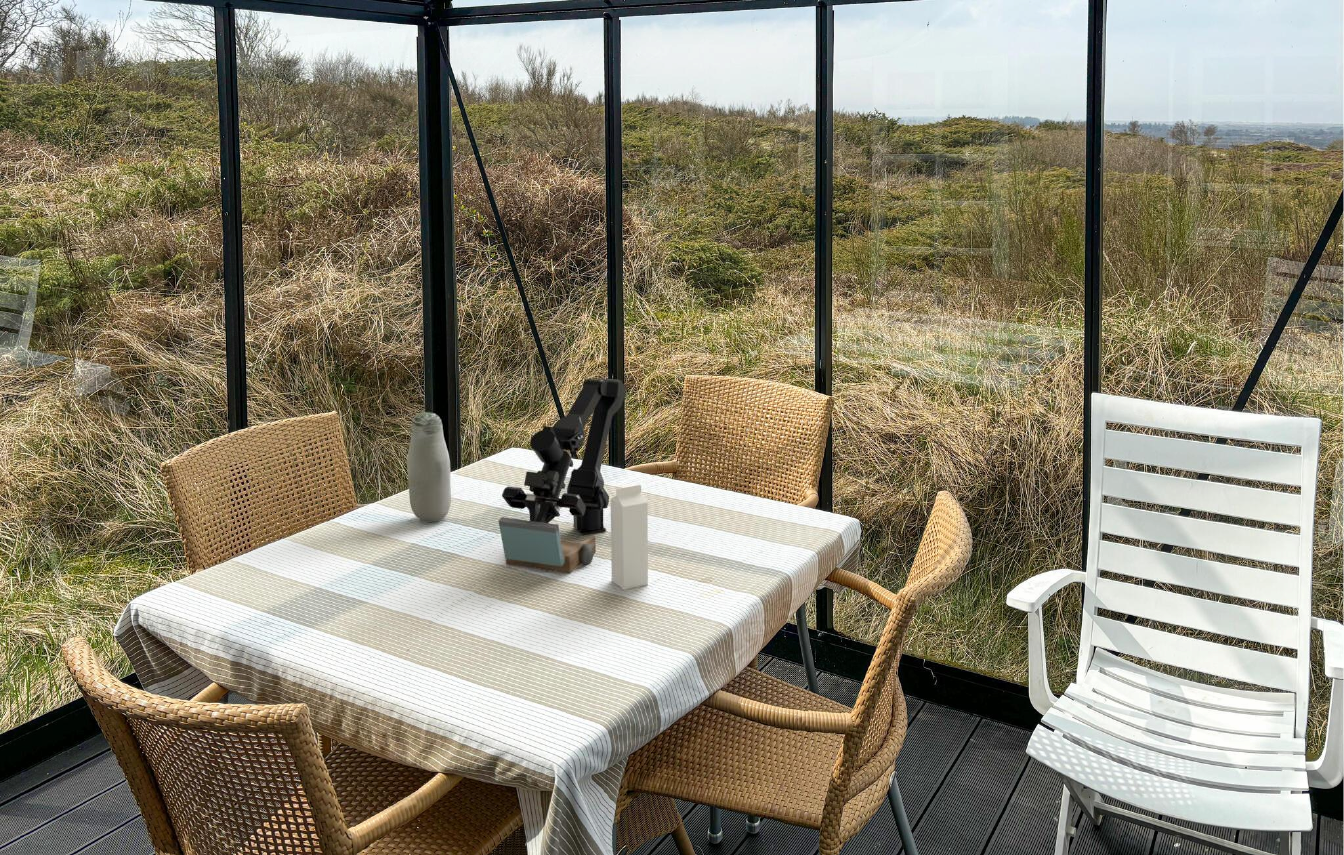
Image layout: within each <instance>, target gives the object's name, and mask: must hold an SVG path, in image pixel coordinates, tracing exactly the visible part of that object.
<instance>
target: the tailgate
mask: <svg viewBox="0 0 1344 855" xmlns="http://www.w3.org/2000/svg"><path fill="white" fill-rule="evenodd" d="M497 521H498V526H499V531H500V538H501V543H502V547H503V552H504V553H503V554H504V558H505V560H506V559H513V560H520V561H527V562H534V563H540V564H547V565H554V566H562V565H563V564H564V558H563V552H562V545H561V540H562V539H561V534H560V533H561V532H560V527H559V526H560V525H559V524H557V523H551V522H549V523H543V522H535V521H530V520H526V519H518V518H510V517H503V516H501V517H500V518H499V519H498V520H497Z"/></svg>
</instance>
